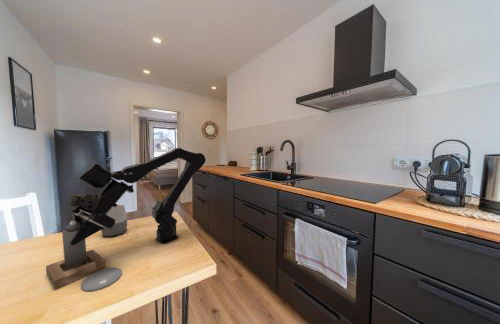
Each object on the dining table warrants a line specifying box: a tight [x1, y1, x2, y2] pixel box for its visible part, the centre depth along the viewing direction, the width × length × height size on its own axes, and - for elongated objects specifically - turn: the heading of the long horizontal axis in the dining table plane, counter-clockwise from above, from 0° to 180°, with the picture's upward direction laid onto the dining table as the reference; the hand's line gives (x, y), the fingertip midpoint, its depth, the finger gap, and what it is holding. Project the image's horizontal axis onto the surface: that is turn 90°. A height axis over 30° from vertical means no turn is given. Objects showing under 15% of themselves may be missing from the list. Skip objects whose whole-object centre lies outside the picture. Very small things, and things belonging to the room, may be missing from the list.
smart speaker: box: [100, 203, 128, 237], centre depth 81 cm, size 10×9×14 cm
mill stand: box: [45, 249, 107, 291], centre depth 56 cm, size 11×11×2 cm
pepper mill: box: [61, 220, 87, 267], centre depth 55 cm, size 5×5×13 cm
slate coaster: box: [80, 266, 123, 293], centre depth 52 cm, size 9×9×1 cm
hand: (68, 242), depth 54 cm, fingers closed on pepper mill, 5 cm apart
